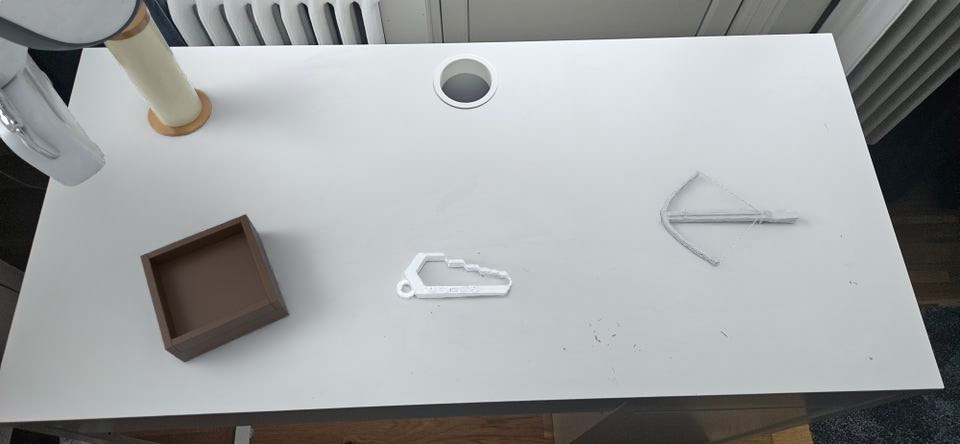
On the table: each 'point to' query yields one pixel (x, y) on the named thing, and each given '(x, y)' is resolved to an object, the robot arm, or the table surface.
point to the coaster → (184, 129)
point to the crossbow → (718, 218)
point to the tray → (212, 288)
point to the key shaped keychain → (447, 291)
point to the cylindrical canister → (155, 71)
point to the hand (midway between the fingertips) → (68, 120)
